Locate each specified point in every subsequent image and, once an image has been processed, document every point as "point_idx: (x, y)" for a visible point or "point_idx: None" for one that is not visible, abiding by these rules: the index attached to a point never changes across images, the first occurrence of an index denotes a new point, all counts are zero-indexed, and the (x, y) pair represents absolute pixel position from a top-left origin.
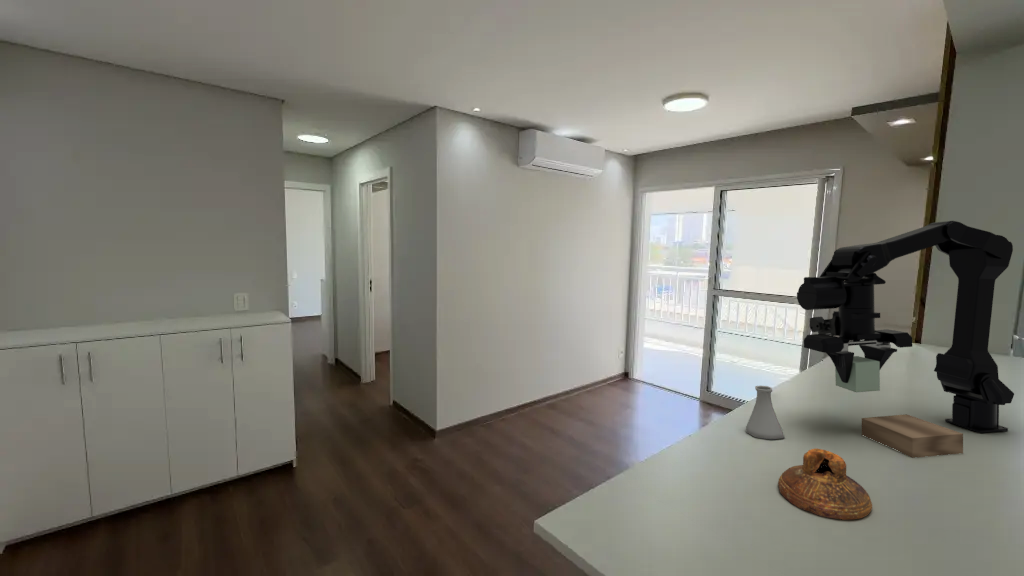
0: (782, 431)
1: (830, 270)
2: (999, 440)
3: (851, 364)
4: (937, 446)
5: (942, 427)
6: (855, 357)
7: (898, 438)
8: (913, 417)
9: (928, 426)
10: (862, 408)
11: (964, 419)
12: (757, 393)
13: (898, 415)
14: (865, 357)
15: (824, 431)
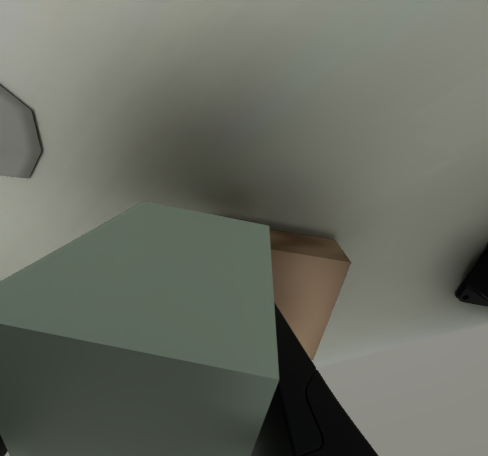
0: (28, 158)
1: None
2: (436, 321)
3: (4, 445)
4: None
5: (318, 333)
6: (187, 398)
7: None
8: (337, 281)
9: (297, 322)
10: (453, 58)
11: (482, 290)
12: None
13: (321, 260)
14: (286, 433)
15: (155, 174)
